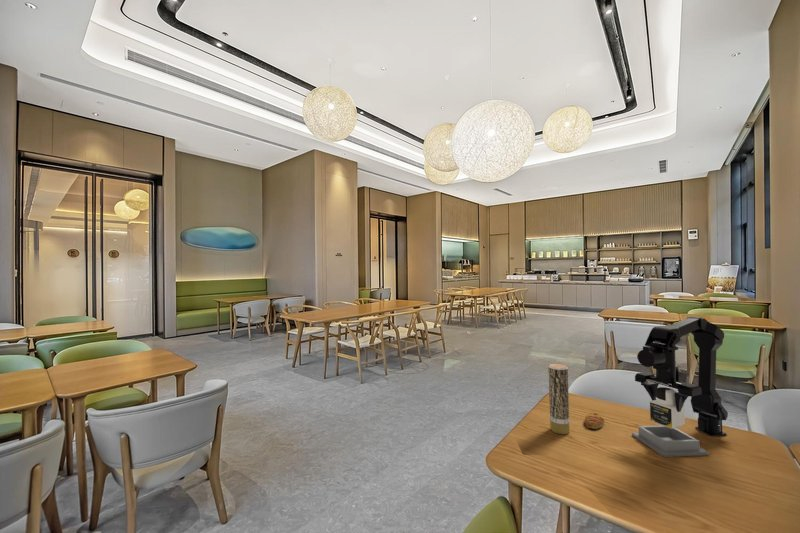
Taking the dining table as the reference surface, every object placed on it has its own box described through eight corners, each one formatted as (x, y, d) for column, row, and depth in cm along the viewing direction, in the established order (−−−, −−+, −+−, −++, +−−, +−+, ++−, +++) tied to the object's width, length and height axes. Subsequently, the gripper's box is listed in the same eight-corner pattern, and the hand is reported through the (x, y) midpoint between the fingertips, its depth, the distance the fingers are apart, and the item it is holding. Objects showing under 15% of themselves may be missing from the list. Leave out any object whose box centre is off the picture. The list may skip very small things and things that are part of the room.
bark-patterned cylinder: (565, 427, 137) (563, 363, 137) (572, 435, 130) (570, 368, 130) (547, 427, 137) (546, 363, 138) (553, 435, 131) (551, 368, 131)
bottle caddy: (671, 434, 129) (671, 423, 129) (708, 455, 114) (707, 442, 114) (632, 435, 129) (631, 424, 129) (663, 456, 114) (663, 444, 114)
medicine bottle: (650, 421, 124) (648, 387, 124) (663, 417, 126) (662, 384, 126) (671, 429, 117) (670, 393, 117) (685, 425, 120) (684, 390, 120)
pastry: (601, 432, 132) (601, 422, 132) (582, 428, 136) (581, 418, 136) (605, 423, 140) (604, 414, 140) (586, 419, 144) (585, 410, 144)
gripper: (710, 367, 116) (712, 413, 116) (653, 355, 134) (654, 395, 133) (690, 371, 112) (692, 419, 112) (633, 358, 130) (634, 400, 129)
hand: (667, 407), depth 122 cm, fingers closed on medicine bottle, 7 cm apart
